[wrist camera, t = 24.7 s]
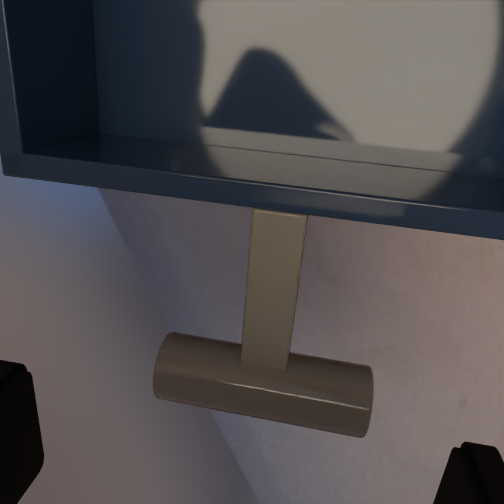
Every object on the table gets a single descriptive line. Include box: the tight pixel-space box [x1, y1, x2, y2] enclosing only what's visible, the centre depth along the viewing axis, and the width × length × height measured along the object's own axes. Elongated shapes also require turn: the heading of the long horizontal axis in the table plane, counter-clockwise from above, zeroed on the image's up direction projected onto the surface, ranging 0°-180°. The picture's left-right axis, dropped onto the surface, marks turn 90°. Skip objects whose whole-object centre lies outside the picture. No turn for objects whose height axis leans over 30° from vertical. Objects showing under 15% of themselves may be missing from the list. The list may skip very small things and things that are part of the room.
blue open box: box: [0, 0, 504, 438], centre depth 10 cm, size 13×19×5 cm
